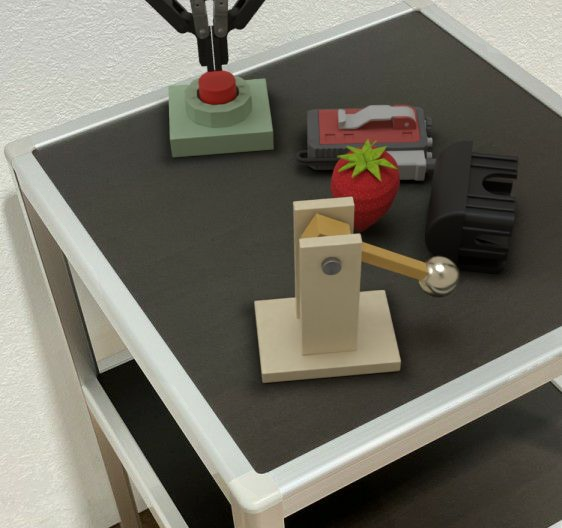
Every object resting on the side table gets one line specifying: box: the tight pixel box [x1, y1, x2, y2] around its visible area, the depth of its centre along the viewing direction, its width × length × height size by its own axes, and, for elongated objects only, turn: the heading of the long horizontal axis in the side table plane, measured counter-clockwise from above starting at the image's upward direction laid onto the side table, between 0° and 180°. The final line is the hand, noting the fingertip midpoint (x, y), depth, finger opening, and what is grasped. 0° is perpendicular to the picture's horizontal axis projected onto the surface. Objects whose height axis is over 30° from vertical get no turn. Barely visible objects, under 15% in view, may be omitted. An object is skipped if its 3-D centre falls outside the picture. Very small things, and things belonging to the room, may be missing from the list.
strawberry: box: [329, 139, 401, 233], centre depth 84 cm, size 6×8×10 cm
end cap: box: [423, 139, 519, 274], centre depth 84 cm, size 10×7×7 cm
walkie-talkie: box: [295, 104, 437, 182], centre depth 93 cm, size 9×4×20 cm
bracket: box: [254, 197, 402, 384], centre depth 74 cm, size 11×8×13 cm
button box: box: [167, 75, 275, 158], centre depth 96 cm, size 10×9×4 cm
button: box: [198, 69, 236, 105], centre depth 95 cm, size 4×4×2 cm
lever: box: [301, 213, 461, 298], centre depth 73 cm, size 13×3×3 cm, turn 96°
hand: (214, 66), depth 93 cm, fingers closed
